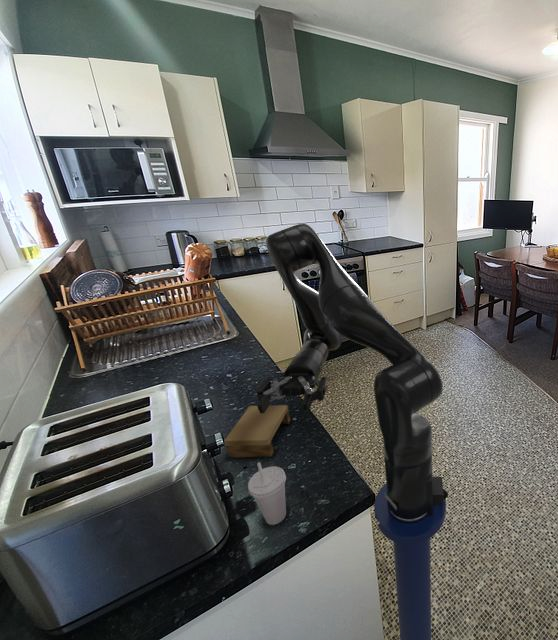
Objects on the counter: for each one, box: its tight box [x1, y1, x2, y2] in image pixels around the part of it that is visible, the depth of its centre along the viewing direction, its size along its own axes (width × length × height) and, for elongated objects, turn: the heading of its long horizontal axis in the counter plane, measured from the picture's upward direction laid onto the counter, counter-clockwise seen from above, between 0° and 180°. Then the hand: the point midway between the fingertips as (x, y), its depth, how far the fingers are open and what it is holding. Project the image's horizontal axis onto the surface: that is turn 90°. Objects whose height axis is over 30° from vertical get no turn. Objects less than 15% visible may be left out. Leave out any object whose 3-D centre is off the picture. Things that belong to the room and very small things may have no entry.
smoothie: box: [247, 461, 287, 526], centre depth 64 cm, size 6×6×14 cm
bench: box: [223, 404, 291, 458], centre depth 86 cm, size 10×13×5 cm
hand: (281, 409), depth 71 cm, fingers open, 8 cm apart
